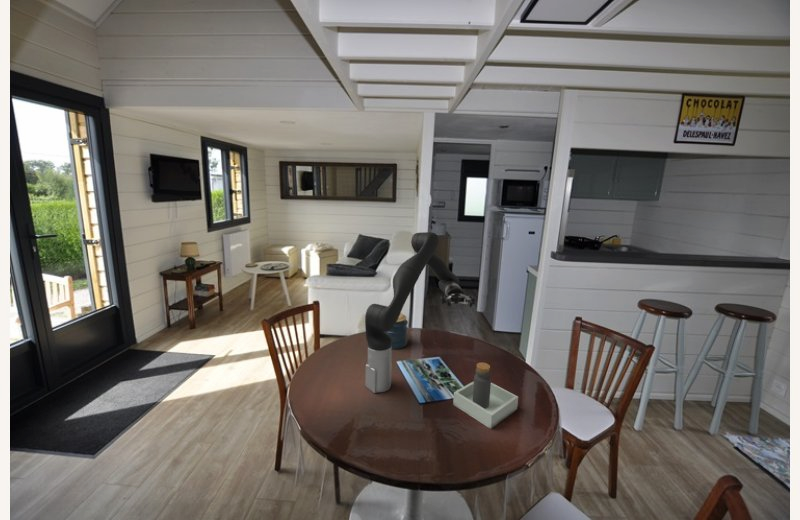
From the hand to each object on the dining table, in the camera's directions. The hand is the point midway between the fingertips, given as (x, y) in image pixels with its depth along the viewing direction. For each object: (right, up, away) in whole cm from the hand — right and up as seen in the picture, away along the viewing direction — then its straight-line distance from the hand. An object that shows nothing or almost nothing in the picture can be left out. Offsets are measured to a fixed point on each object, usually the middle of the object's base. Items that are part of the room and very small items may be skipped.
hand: (460, 304), depth 136 cm
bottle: (+4, -34, -17) cm, 38 cm away
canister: (-28, -24, +30) cm, 48 cm away
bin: (+6, -34, -18) cm, 39 cm away
